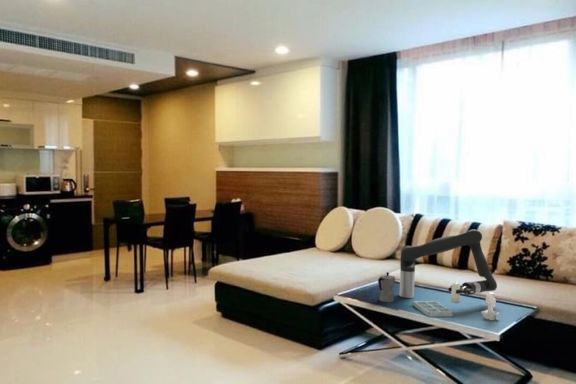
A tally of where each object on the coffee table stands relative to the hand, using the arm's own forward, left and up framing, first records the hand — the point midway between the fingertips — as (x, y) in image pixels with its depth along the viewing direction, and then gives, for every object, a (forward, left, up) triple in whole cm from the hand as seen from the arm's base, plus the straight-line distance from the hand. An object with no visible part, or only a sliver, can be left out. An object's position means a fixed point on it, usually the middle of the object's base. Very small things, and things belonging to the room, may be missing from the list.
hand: (452, 290), depth 272 cm
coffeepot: (-24, -32, -13) cm, 42 cm away
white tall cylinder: (-1, +2, -7) cm, 7 cm away
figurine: (+14, +16, -13) cm, 25 cm away
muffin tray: (-2, -11, -12) cm, 17 cm away
